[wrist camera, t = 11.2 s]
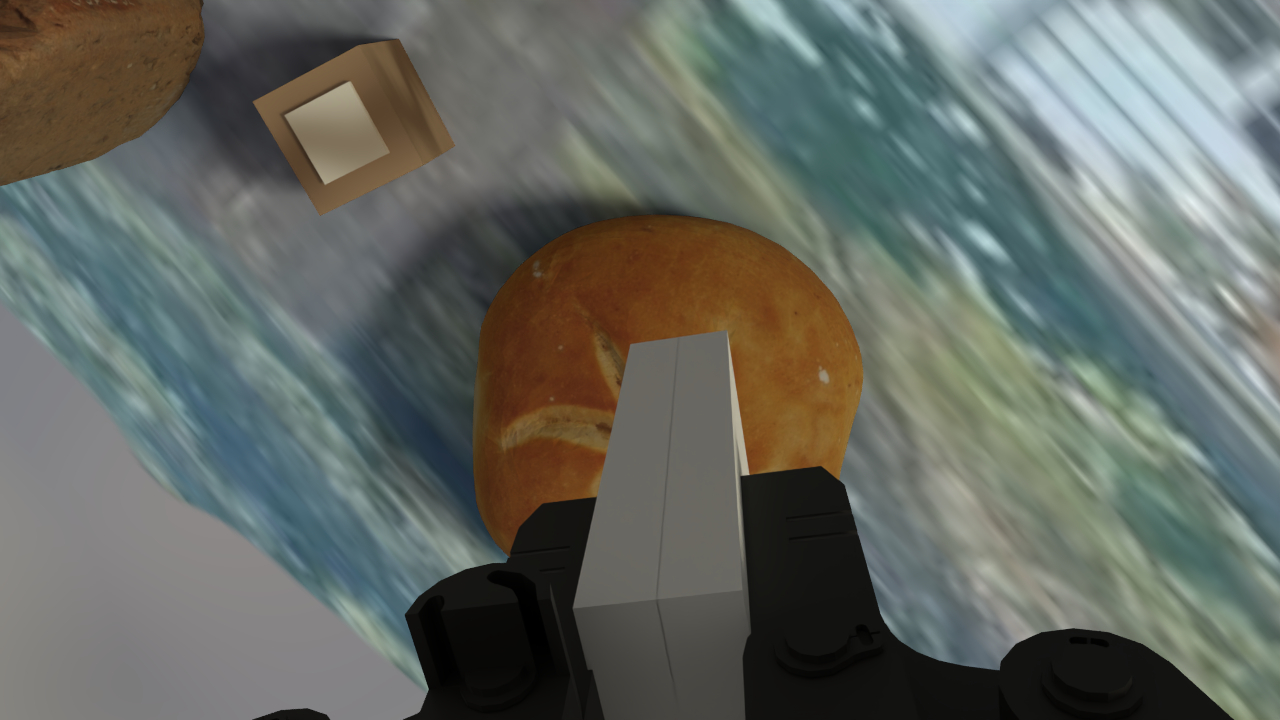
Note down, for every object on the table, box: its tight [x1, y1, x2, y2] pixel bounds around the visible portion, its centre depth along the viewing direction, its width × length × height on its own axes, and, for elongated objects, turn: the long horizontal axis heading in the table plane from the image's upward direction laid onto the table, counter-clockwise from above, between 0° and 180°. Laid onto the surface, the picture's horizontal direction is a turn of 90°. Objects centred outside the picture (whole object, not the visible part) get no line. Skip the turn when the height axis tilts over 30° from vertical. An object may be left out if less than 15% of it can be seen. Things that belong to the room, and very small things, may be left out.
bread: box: [473, 215, 863, 557], centre depth 50 cm, size 23×23×10 cm
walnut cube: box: [253, 39, 455, 216], centre depth 46 cm, size 6×6×6 cm
